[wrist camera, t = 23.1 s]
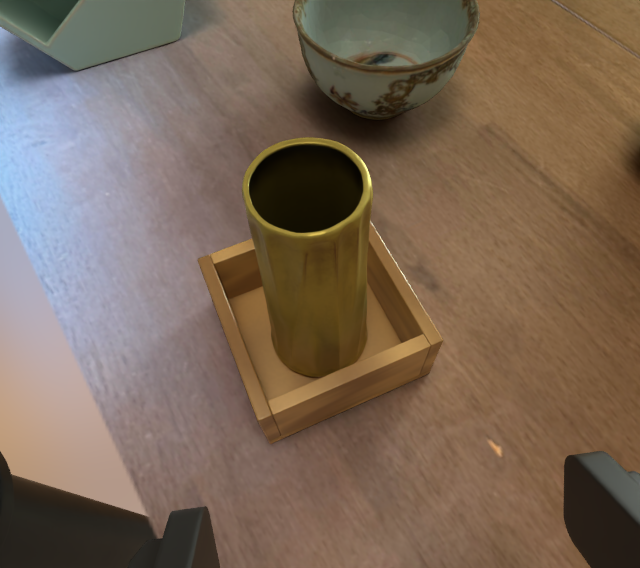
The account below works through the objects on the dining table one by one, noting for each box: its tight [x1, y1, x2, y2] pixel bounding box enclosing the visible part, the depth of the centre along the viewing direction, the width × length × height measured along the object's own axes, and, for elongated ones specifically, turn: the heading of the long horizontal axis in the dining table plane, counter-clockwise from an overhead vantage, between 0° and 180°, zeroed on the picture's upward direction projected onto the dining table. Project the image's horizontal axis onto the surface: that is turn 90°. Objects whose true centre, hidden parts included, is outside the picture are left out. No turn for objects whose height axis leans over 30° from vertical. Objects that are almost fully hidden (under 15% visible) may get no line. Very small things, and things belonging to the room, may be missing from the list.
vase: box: [242, 137, 373, 377], centre depth 26 cm, size 6×6×14 cm
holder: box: [198, 221, 443, 444], centre depth 31 cm, size 11×11×5 cm
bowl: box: [293, 0, 480, 120], centre depth 41 cm, size 14×13×8 cm
